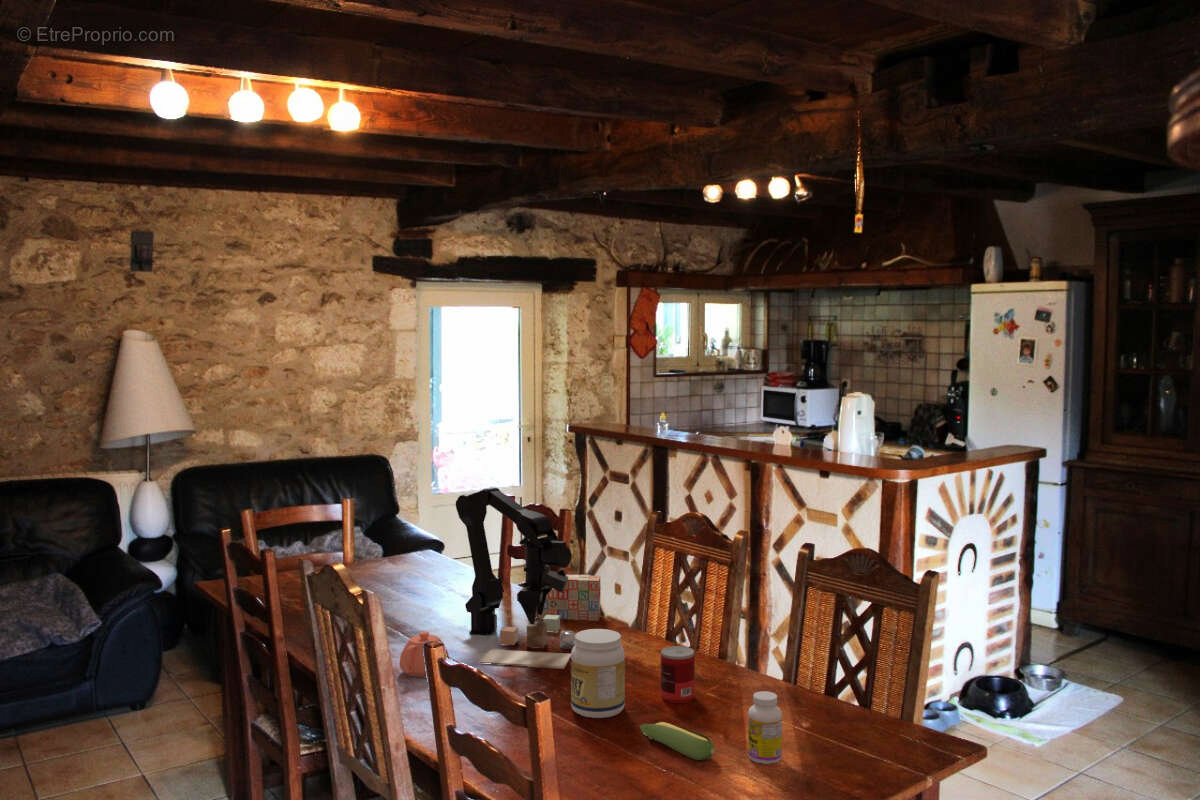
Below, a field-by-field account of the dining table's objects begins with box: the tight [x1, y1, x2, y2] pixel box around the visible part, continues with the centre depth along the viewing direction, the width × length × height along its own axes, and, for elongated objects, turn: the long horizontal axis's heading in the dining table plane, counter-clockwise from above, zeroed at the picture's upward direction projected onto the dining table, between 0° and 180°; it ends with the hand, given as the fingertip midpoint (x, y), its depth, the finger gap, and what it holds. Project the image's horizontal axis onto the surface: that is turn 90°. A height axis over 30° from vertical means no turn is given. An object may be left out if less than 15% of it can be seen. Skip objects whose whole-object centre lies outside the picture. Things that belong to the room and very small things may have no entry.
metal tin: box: [559, 630, 576, 650], centre depth 264 cm, size 4×4×4 cm
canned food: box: [660, 645, 695, 704], centre depth 227 cm, size 8×8×11 cm
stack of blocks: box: [527, 574, 602, 622], centre depth 292 cm, size 21×6×12 cm, turn 85°
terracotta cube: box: [499, 626, 519, 646], centre depth 268 cm, size 4×4×4 cm
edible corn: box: [639, 721, 716, 761], centre depth 200 cm, size 5×20×5 cm, turn 41°
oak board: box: [479, 649, 571, 670], centre depth 254 cm, size 22×10×1 cm, turn 80°
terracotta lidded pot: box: [399, 631, 450, 679], centre depth 243 cm, size 12×14×10 cm
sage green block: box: [542, 615, 561, 633], centre depth 279 cm, size 4×4×4 cm
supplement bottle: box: [747, 690, 783, 765], centre depth 194 cm, size 7×7×13 cm
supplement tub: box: [570, 628, 626, 719], centre depth 220 cm, size 12×12×17 cm
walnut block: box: [526, 621, 548, 649], centre depth 265 cm, size 4×4×6 cm
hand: (536, 619), depth 265 cm, fingers open, 9 cm apart
